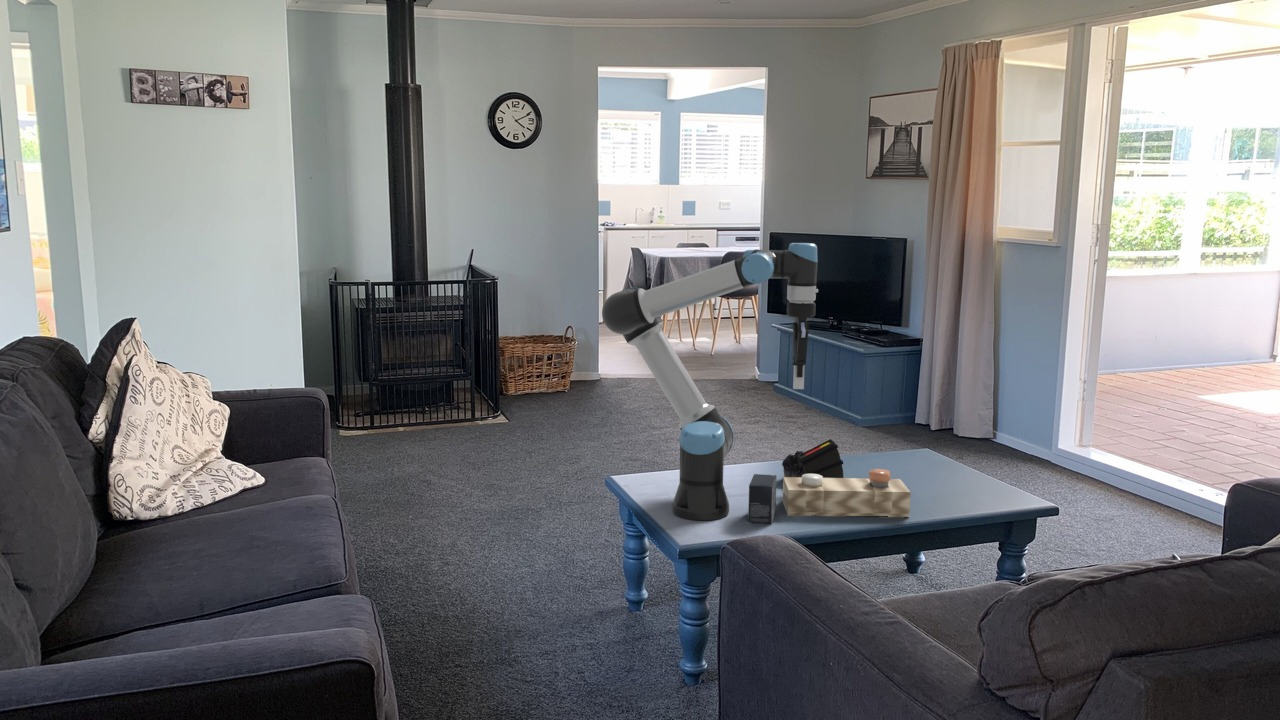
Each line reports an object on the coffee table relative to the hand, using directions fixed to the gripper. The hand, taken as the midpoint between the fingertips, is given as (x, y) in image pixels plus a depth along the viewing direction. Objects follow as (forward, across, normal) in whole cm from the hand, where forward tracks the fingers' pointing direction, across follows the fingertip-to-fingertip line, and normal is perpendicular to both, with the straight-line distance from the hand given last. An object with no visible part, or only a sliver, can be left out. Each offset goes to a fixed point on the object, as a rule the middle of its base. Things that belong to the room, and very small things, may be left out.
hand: (798, 388), depth 262 cm
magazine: (+33, +12, -9) cm, 36 cm away
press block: (+32, -4, -13) cm, 35 cm away
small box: (+33, -12, +10) cm, 36 cm away
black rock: (+33, +23, -6) cm, 41 cm away
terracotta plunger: (+29, -4, -22) cm, 37 cm away
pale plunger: (+31, -4, -4) cm, 31 cm away
